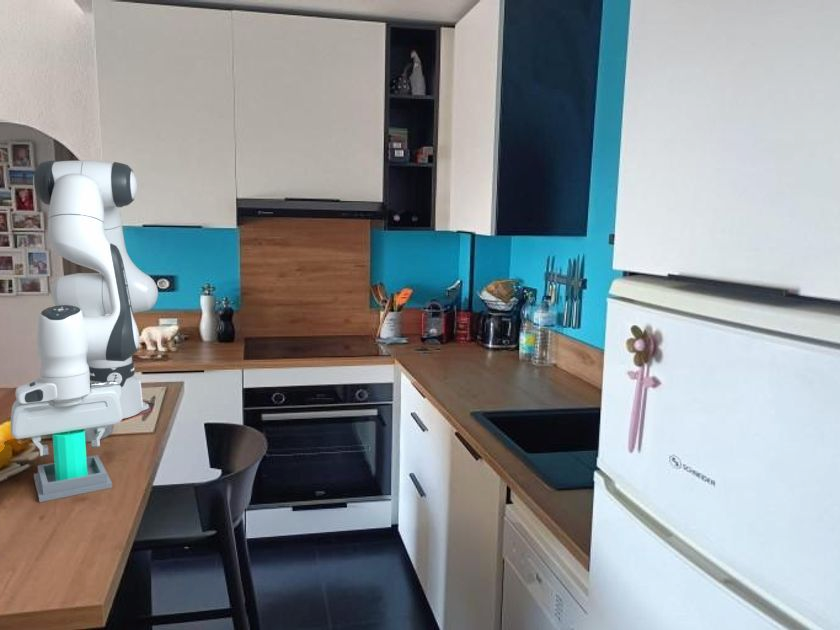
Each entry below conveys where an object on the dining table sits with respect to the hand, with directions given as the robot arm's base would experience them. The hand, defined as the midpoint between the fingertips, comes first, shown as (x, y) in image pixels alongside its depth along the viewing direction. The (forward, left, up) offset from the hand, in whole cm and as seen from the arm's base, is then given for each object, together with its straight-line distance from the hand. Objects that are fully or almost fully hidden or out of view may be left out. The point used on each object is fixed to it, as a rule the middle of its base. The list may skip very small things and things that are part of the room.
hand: (70, 450), depth 134 cm
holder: (0, 0, -7) cm, 7 cm away
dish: (-30, +6, -8) cm, 32 cm away
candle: (0, 0, -6) cm, 6 cm away
